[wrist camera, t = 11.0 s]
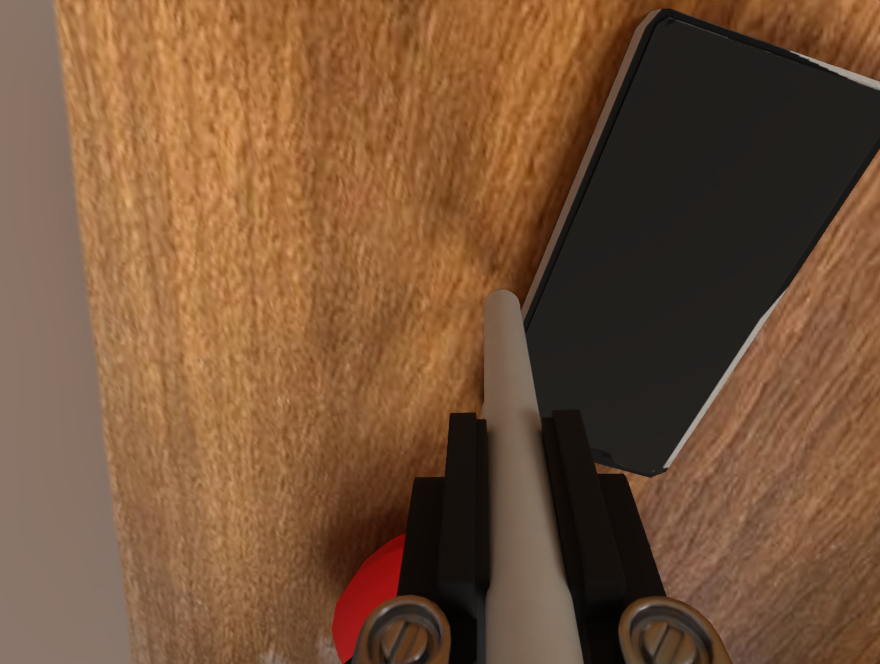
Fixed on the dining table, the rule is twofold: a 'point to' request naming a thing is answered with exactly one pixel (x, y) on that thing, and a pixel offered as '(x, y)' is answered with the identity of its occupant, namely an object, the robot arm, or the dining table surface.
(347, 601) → the red disc with nozzle
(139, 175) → the dining table surface
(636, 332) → the smartphone
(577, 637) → the grey cylindrical rod
